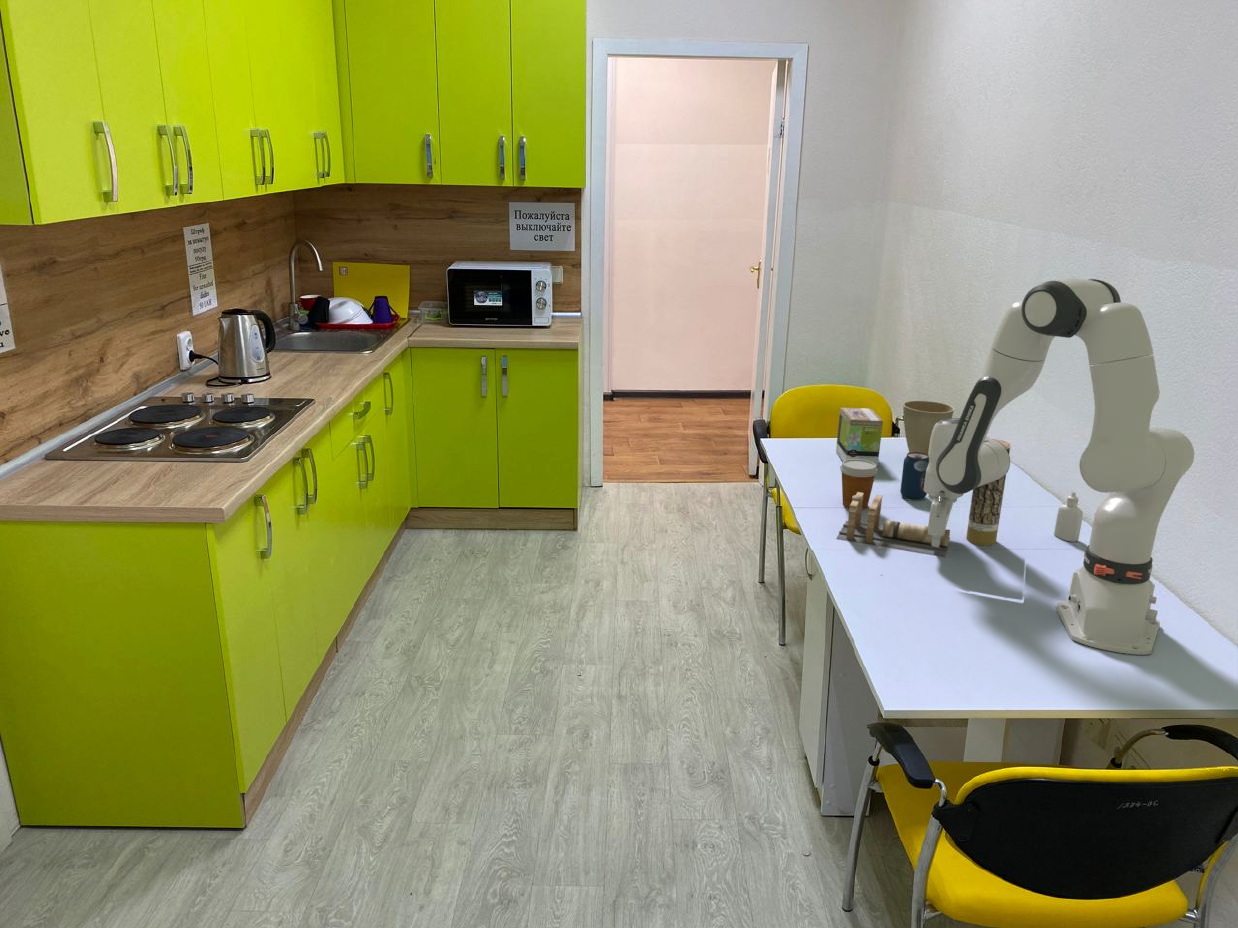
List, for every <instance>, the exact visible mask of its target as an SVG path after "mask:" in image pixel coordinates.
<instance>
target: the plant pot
mask: <svg viewBox="0 0 1238 928" xmlns="http://www.w3.org/2000/svg"><path fill="white" fill-rule="evenodd" d="M902 405H903V407H902V408H903V428H904V435H905V441H906V444H907V449H908V453H910V452H920V453H925V454H927V455H928V451H929V444H930V438H931V434H932V430H933V428H934V426H935V424H936V423H937V422H938V421H941V420H944V419H948V418H949V419H950V418H953V415H954V412H955V407H953V406H951V405H949V404H947V403H942V402H939V401H930V400H929V401H928V400H910V401H908V400H907V401H905V402H903V404H902Z"/></svg>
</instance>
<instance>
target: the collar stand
mask: <svg viewBox="0 0 1238 928" xmlns="http://www.w3.org/2000/svg"><path fill="white" fill-rule="evenodd" d="M863 495H864V493H861V492H857V494H856V495H854V496H852V499H853V501H852V503H851V504H850V508H848V509H849V511H848V520H845V522H844V523H843V524H842V525H843V526H842V527H841V530H839V531H838V535H837V537H836V538H835V539H836V540H839V541H846V542H852V543H857V544H863V545H870V546H876V547H881V548H888V549H892V550H899V551H906V552H912V553H917V554H925V555H931V556H937V557H942V558H945V557H946V554H947V551H948V547H946V546H939V547H933V546H932V545H931V544H928V543H921V542H915V541H909V540H903V539H897V538H891V537H884V536H882V533H883V526H882V525H880V520H881V512H882V503H883V495H880V494H875V496H874V498H873V500H872V502H871V503H870V506H869V508H868V515H867V524H866V523H862V522H861V521H862V513H863V509H862V505H863ZM950 539H951V537H950V536H949V542H950ZM949 542H948V544H949Z"/></svg>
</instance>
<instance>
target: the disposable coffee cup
mask: <svg viewBox="0 0 1238 928" xmlns="http://www.w3.org/2000/svg"><path fill="white" fill-rule="evenodd" d="M839 470H840V471H841V488H842V489H841V490H842V491H841V493H842V506H843V507H845V508H847V509H849V508H850V504H851V503H852V501H853V499H852V496H854V495H856V494H857V492H861V493H864V495H863V505H862V510H865V509H867V508H868V506H869V502H870V497H871V494H872V490H873V485H874V481H875V476H876V475H877V473H878V468H877V467H876V464H875V463H873V462H870V461H867V460H861V459H849V460H845V461H842V463H841V465H840V466H839Z"/></svg>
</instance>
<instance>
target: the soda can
mask: <svg viewBox="0 0 1238 928" xmlns="http://www.w3.org/2000/svg"><path fill="white" fill-rule="evenodd" d="M928 464H929V456H928V455H927V454H925V453H920V452H910V453H909V452H907V453H906V456H905V457H904V459H903V466H902V472H901V473H902V474H901V482H900V489H899V490H900V494H901V496H902V498H904V499H905V500H909V501H923V500H924V499H925V497H926V496H928V494H927V493H926V492H925V491H924V484H925V476H926V469H927V467H928Z"/></svg>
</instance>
